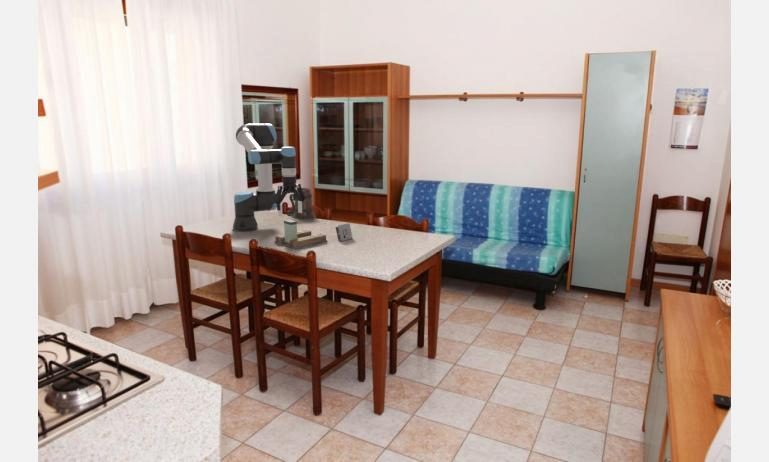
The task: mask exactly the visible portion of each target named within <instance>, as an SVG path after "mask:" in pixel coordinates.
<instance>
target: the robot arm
mask: <svg viewBox="0 0 769 462" xmlns="http://www.w3.org/2000/svg"><path fill="white" fill-rule="evenodd" d="M235 139H236V142H237V143H238V144H239V145H241V146H242V147H243V148H244V149H245V150H246V152H247V153H248V154H247V160H248V163H249V164H250V165H257V183H258V187H257V188H256V190H255V192H254V191H253V190H243V191H240V192H237V193H235V194H234V197H233V203H234V220H233V225H232V230H233V231H234V232H235V231H236V232H252V231H256V230H258V229H259V225H258V222H257V220H256V217H255V216H256V215H255V212H267V211H268V212H270V211H275V210H277V216H278V217H283V204H282V202H283V200H284V199H285V197H286V196H287V195H288V194H295V196H296V197H297V198H298V200H299V201H298V213H302V207H303V201H304V200H305V199H306V197H305V195H304V193H303V191H302V189H301V188H302V184H301V183H297V163H296V162H297V161H296V159H297V158H296V154H297V152H296V148H295V147H294V146H282V147H281V148H279V149H272V148H273V147H274V144H275V143H277V139H278V138H277V132H276V128H275V127H274V125H273V124H272V123H245V124H242V125H241V126H239V127H238V128H237V129H236V132H235ZM273 164H275V165H276V164H281V176H282V177H281V181H282V182H281V183H282V185H277V191H276V188H274V187H273V166H272V165H273ZM296 189H297V190H298V192H299V193H298V192H297V190H296ZM299 194H300V195H299Z"/></svg>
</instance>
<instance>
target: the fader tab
mask: <svg viewBox="0 0 769 462" xmlns="http://www.w3.org/2000/svg"><path fill="white" fill-rule="evenodd" d="M283 224H284V226H283V227H284V229H283V230H284V234H285V242H286V243H290V240H293V239H297V231H298V221H296V220H293V219H286V220H283Z"/></svg>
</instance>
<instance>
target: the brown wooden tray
mask: <svg viewBox="0 0 769 462" xmlns="http://www.w3.org/2000/svg"><path fill="white" fill-rule="evenodd" d="M274 237H275V238H274V239H275V240H274V243H275V244H278V245H281V246H285V247H288V248H291V249H293V250H299V249H300V250H301V249H304V248H309V247H312V246H313V247H314V246H317V245H321V244H325V243H328V240H327V235H326V234H325V233H316V234H312V230H308V229H304V230H297V239H293V240H290V243H286V242H285V233H284V234H280V235H275V236H274Z"/></svg>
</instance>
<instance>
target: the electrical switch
mask: <svg viewBox="0 0 769 462" xmlns="http://www.w3.org/2000/svg"><path fill="white" fill-rule="evenodd" d="M335 231H336V237H337V241H341V242H344V241H348V240H350V239H353V233H352V228H351V224H350V223H349V222H346V223H343V224H339V225H337V226H335Z"/></svg>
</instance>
